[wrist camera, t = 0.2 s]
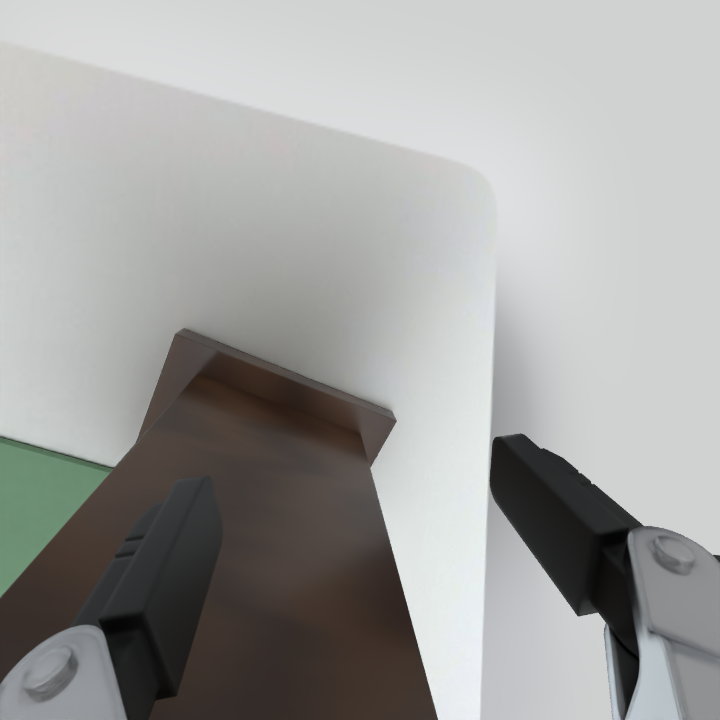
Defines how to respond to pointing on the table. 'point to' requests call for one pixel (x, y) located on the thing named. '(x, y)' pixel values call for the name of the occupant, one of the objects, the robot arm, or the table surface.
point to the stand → (253, 547)
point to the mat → (37, 501)
